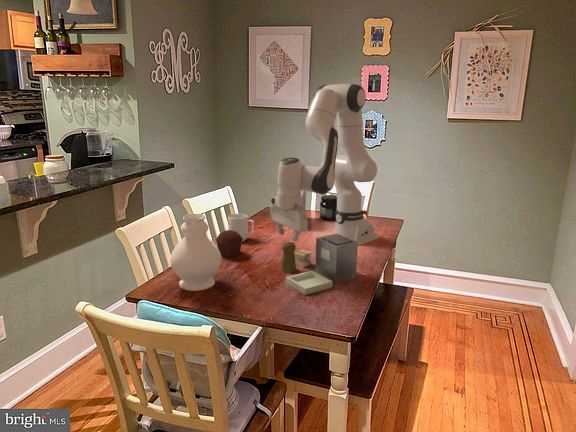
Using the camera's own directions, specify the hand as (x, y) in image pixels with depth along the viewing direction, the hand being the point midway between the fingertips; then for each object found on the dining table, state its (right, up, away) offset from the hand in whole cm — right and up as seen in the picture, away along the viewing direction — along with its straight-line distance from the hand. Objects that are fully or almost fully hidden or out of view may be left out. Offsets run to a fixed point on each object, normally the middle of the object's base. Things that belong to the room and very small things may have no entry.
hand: (288, 237), depth 181 cm
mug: (-21, -3, +39) cm, 44 cm away
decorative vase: (-33, -16, -10) cm, 38 cm away
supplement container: (+22, +6, +74) cm, 78 cm away
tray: (+7, -17, -10) cm, 21 cm away
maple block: (+6, -11, +10) cm, 16 cm away
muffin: (-25, -8, +20) cm, 33 cm away
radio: (+4, +4, +66) cm, 66 cm away
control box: (+18, -14, -1) cm, 23 cm away
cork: (0, -13, +4) cm, 14 cm away
